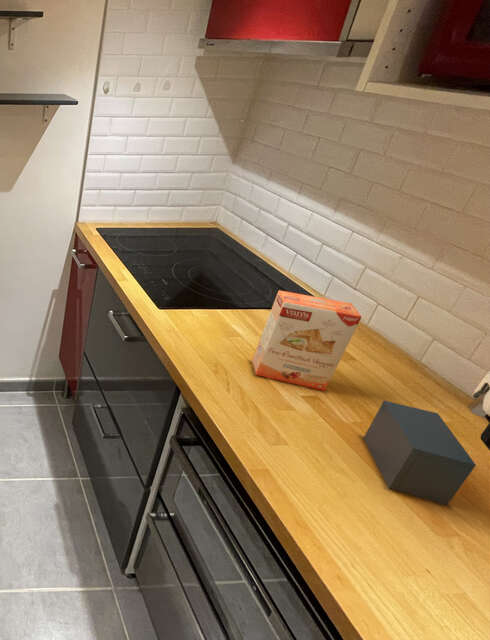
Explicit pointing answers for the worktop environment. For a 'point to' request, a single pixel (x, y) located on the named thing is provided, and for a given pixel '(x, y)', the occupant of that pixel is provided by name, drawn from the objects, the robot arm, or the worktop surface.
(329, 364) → the cracker box
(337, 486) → the worktop surface
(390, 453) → the grey open box
